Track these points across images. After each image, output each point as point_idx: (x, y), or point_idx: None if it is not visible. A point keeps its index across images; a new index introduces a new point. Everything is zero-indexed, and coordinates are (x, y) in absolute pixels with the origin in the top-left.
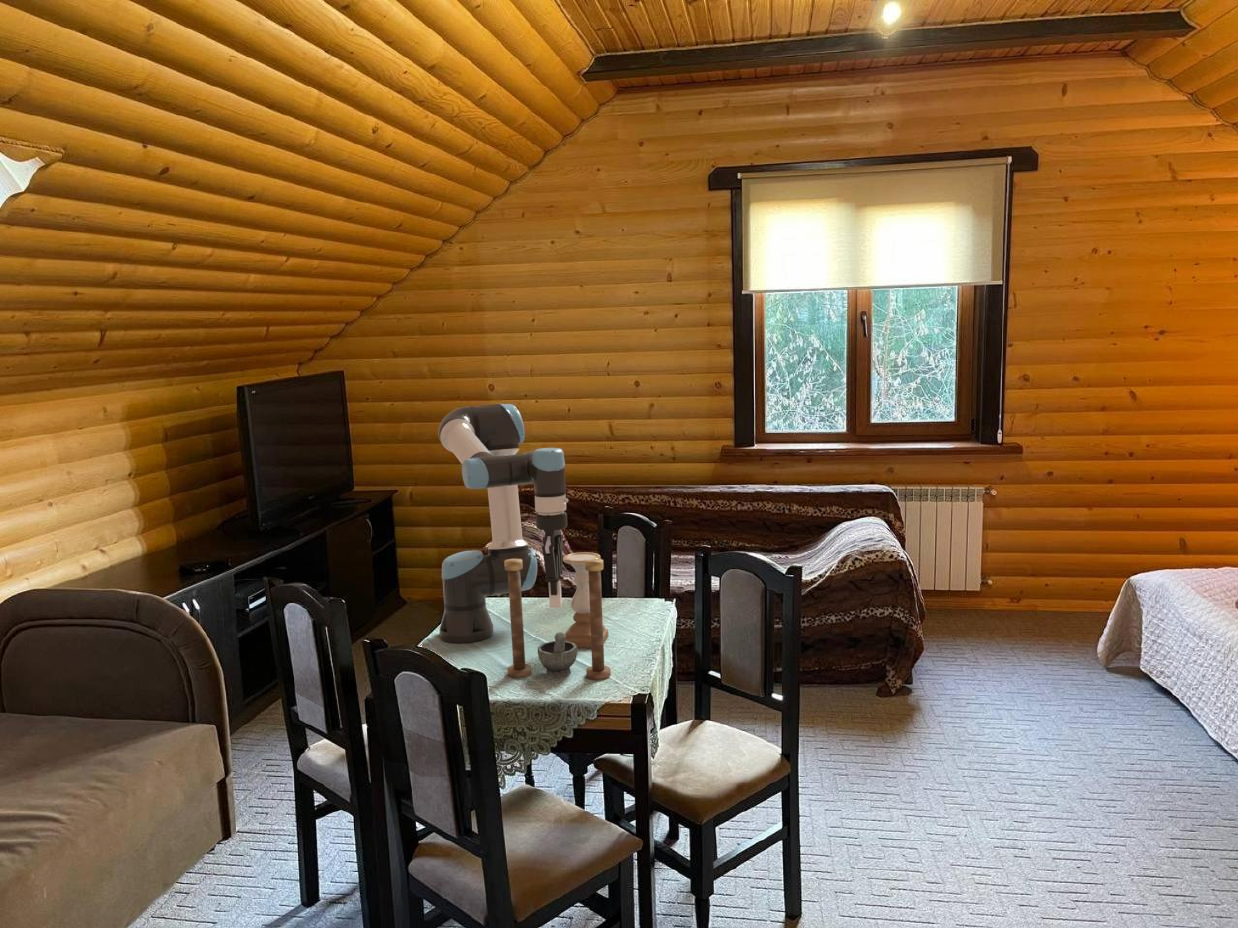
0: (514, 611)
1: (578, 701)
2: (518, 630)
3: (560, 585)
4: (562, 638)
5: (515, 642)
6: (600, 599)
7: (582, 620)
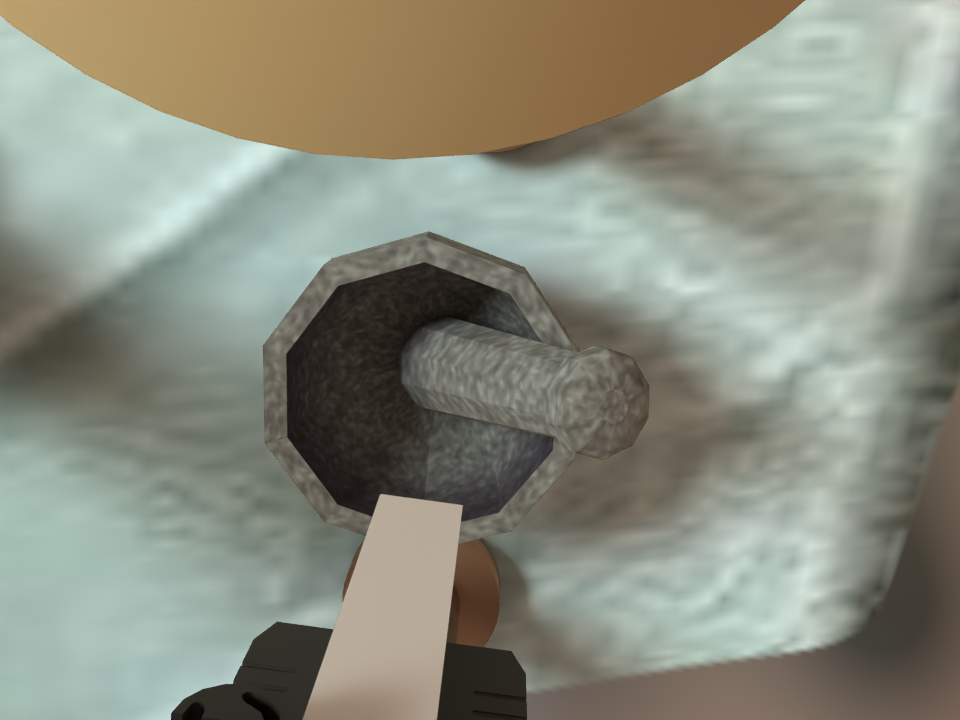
0: None
1: (949, 181)
2: None
3: (356, 671)
4: (636, 379)
5: None
6: None
7: None
